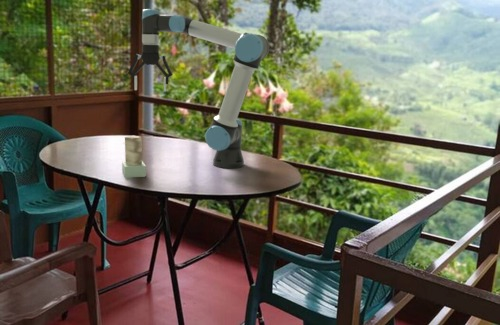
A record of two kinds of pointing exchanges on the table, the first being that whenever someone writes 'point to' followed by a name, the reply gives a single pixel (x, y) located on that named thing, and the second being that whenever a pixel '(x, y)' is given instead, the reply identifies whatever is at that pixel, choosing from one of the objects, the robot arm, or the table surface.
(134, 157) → the birch block
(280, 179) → the table surface
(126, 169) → the sage block
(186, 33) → the robot arm
